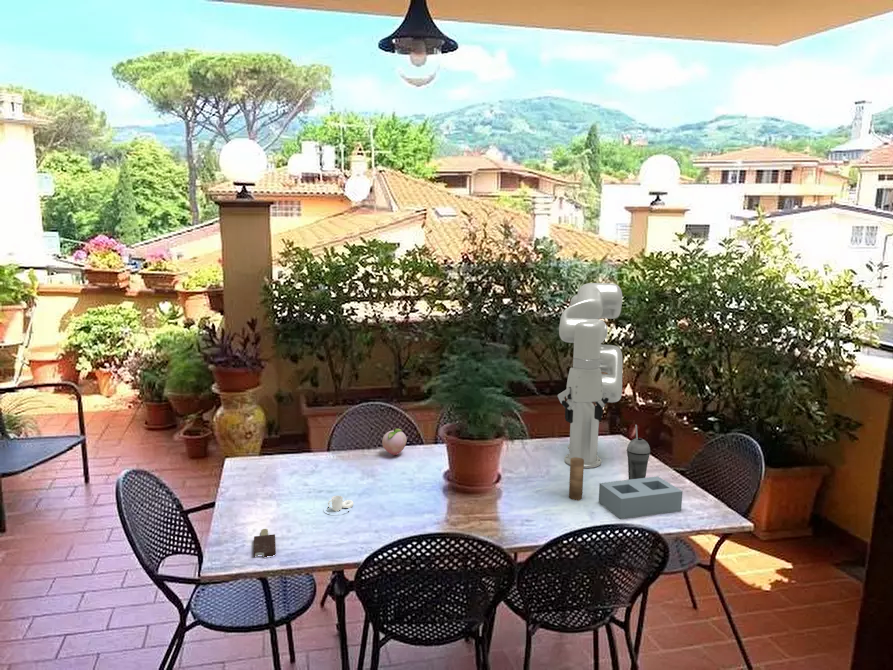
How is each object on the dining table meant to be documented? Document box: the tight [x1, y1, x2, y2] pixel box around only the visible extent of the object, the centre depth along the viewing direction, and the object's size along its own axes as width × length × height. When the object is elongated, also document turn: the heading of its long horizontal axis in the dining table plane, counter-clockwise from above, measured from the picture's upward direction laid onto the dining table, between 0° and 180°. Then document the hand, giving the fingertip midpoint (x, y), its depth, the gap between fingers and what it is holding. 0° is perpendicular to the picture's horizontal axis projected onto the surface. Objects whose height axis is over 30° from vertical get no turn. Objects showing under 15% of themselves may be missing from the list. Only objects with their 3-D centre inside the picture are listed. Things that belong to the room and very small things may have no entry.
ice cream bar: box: [253, 528, 277, 558], centre depth 171 cm, size 5×2×15 cm
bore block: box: [598, 475, 684, 520], centre depth 196 cm, size 12×20×6 cm, turn 107°
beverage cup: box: [626, 424, 651, 480], centre depth 210 cm, size 7×7×20 cm
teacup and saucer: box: [327, 495, 355, 512], centre depth 192 cm, size 9×8×4 cm
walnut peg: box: [568, 457, 585, 501], centre depth 201 cm, size 4×4×12 cm
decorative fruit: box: [381, 427, 408, 456], centre depth 237 cm, size 9×8×10 cm
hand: (583, 420), depth 199 cm, fingers open, 9 cm apart
